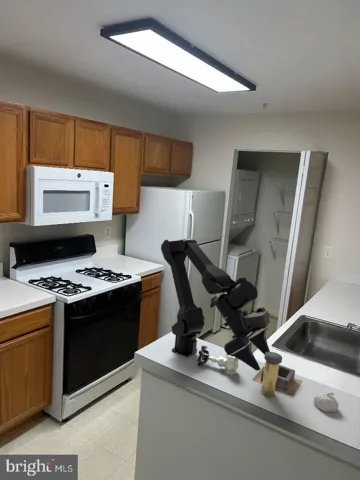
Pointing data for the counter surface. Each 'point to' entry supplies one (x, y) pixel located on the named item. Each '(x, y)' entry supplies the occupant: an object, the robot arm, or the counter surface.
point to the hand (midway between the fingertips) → (264, 363)
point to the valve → (219, 361)
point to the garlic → (326, 402)
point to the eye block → (282, 380)
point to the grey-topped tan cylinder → (270, 373)
